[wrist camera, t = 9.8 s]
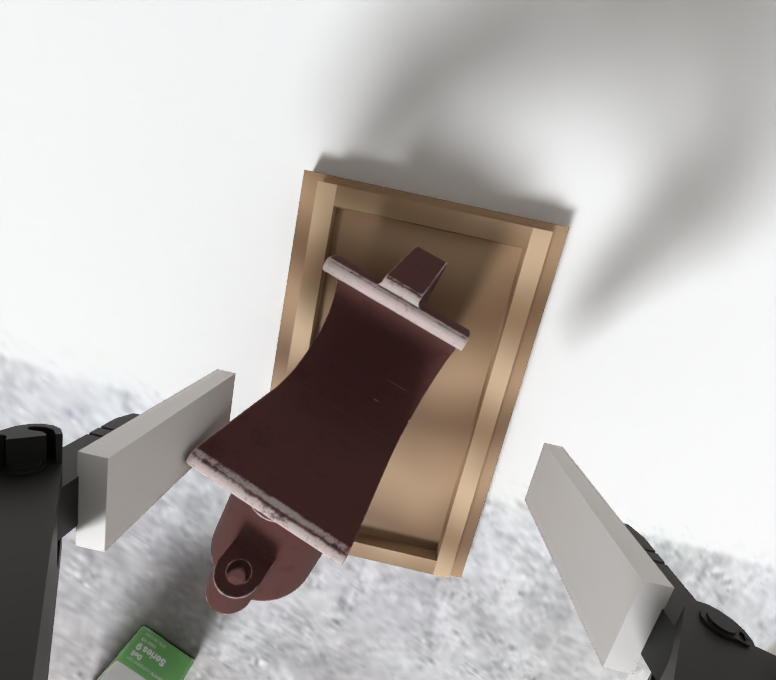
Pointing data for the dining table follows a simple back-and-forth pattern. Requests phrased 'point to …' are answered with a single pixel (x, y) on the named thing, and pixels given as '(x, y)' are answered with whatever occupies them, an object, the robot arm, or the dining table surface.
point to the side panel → (460, 372)
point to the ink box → (148, 660)
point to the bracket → (324, 432)
